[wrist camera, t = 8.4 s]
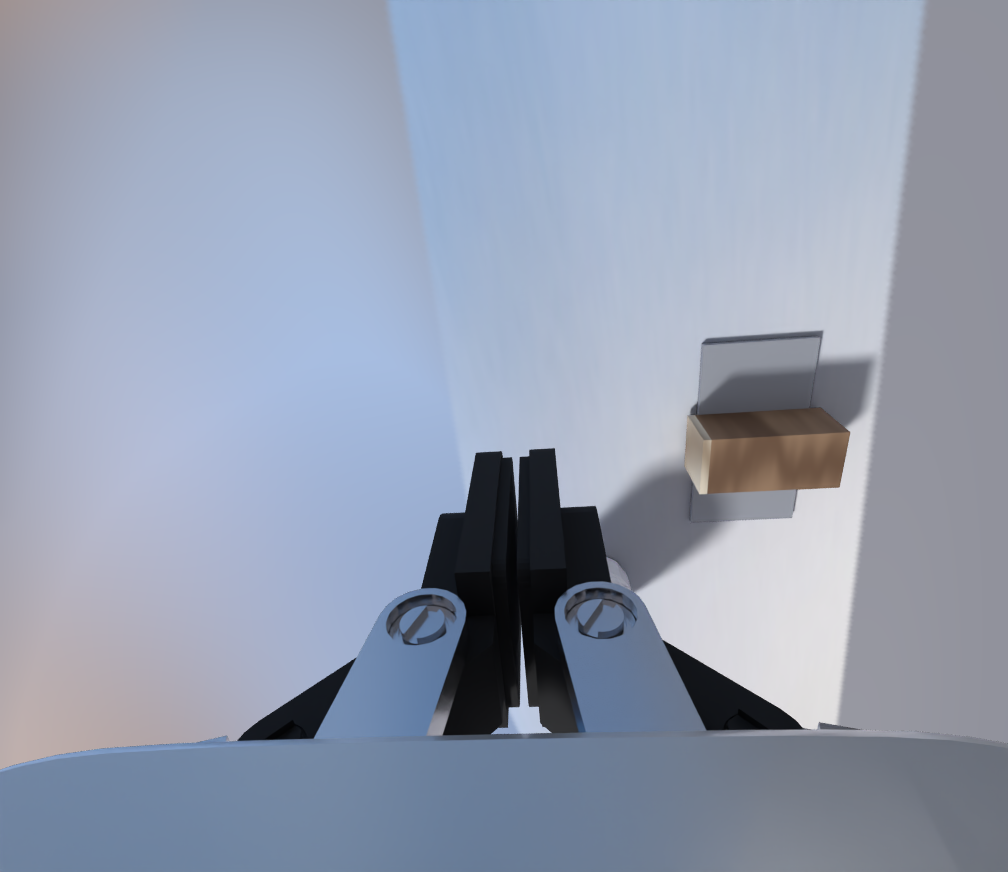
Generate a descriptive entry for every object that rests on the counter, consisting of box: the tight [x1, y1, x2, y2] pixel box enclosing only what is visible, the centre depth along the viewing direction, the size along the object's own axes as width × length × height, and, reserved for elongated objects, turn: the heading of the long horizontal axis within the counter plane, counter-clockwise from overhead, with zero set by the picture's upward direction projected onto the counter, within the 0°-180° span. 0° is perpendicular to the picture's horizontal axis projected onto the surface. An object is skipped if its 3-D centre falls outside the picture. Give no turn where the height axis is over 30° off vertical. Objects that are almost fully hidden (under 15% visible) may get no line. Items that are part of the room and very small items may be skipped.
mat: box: [690, 336, 821, 523], centre depth 40 cm, size 14×8×1 cm, turn 5°
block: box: [684, 408, 850, 494], centre depth 38 cm, size 4×4×9 cm
